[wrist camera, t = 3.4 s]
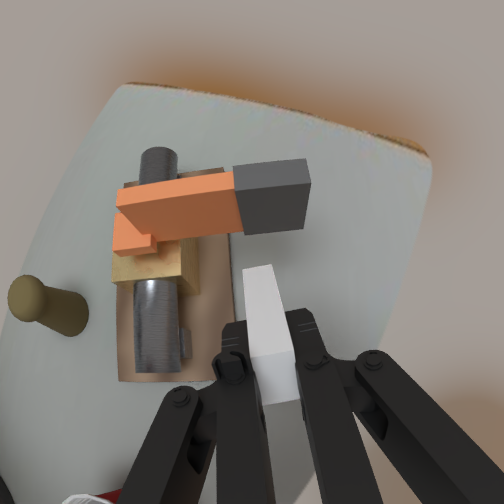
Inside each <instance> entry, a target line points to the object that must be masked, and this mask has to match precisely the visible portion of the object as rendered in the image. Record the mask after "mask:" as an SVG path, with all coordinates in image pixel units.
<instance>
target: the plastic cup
mask: <svg viewBox="0 0 504 504" xmlns="http://www.w3.org/2000/svg"><path fill="white" fill-rule="evenodd" d="M121 491H122V489H119V490H115V491H112V492H108V493H104V494H101V495H91V494H81V495H71V496H70V497H69V498H67V499H66V500H65V501H64V502H62V504H116V502H117V500H118V497H119V495H120V493H121Z"/></svg>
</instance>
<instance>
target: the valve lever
mask: <svg viewBox="0 0 504 504" xmlns="http://www.w3.org/2000/svg"><path fill="white" fill-rule="evenodd" d="M310 187H311V179H310V175H309V170H308V166H307V161H306V159H294V160H283V161H273V162H263V163H254V164H246V165H237V166H233V171H232V172H224V173H216V174H209V175H202V176H195V177H188V178H182V179H175V180H169V181H163V182H157V183H151V184H145V185H140V186H134V187H129V188H124V189H119V190H118V193H117V202H116V207H117V208H118V209H119V210H120V211H121V212H120V213H115V222H114V234H113V247H112V251H113V252H114V253H116V254H117V255H118V256H119V257H125V256H133V255H141V254H149V253H157V242H159V241H167V240H175V239H183V238H191V237H200V236H208V235H216V234H225V233H234V232H242V231H244V234H245V235H253V234H262V233H271V232H280V231H289V230H299V229H303V227H304V222H305V216H306V210H307V205H308V199H309V193H310Z"/></svg>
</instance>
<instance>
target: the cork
mask: <svg viewBox="0 0 504 504" xmlns="http://www.w3.org/2000/svg"><path fill="white" fill-rule="evenodd" d="M8 306H9V309H10V311H11V312H12V314H13V315H14V316H15V317H16V318H18V319H19V320H20V321H24V322H33V321H37V322H39V323H41V324H43V325H45V326H47V327H49V328H50V329H52V330H54V331H57V332H59V333H61V334H63V335H65V336H68V337H73V336H76V335H78V334H79V333H81V332H82V331H83V329H84V328H85V327H86V324H87V321H88V316H89V310H88V305H87V303H86V301H85V299H84V298H83V297H82V296H81V295H80V294H78V293H75V292H70V291H66V290H61V289H57V288H52V287H48V286H44V284H43V283H42V282H41V281H40V280H39V279H38V278H36V277H34V276H32V275H23V276H20V277H18V278H16V279H15V280H14V281H13V283H12V284H11V286H10V289H9V292H8Z"/></svg>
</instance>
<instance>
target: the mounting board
mask: <svg viewBox="0 0 504 504" xmlns="http://www.w3.org/2000/svg"><path fill="white" fill-rule="evenodd" d="M216 173H224V169H223V167H221V168H214V169H207V170H200V171H193V172H186V173H180V174H177V175H181V176H182V178H188V177H195V176H202V175H209V174H216ZM138 184H139V181H134V182H129V183H124V188H129V187H134V186H138ZM198 248H199V273H200V293H201V295H195V296H184V297H177V302H178V325H179V328H185V329H187V330H189V331H191V337H192V352H193V358H192V359H181V372H179V373H135V356H134V328H133V294H131V293H130V292H128V291H126V290H124V289H123V288H121V287H119V286H118V285H117V301H116V325H117V360H118V379H119V381H126V382H178V381H206V380H217V379H216V376H215V373H214V370H213V368H212V365H211V364H212V361H213V359H214V357H215V356H216V355H217V354H219V353H221V347H222V346H221V341H222V330H223V328H224V327H225V325H226V323H232V322H236V321H235V309H234V296H233V284H232V271H231V258H230V244H229V233H225V234H216V235H208V236H200V237H198Z"/></svg>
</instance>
